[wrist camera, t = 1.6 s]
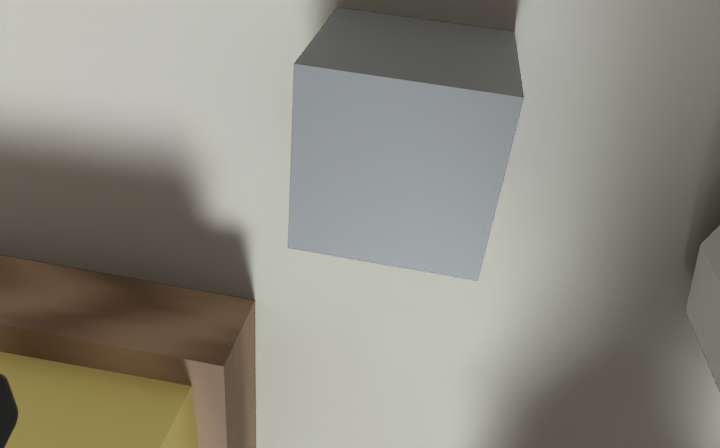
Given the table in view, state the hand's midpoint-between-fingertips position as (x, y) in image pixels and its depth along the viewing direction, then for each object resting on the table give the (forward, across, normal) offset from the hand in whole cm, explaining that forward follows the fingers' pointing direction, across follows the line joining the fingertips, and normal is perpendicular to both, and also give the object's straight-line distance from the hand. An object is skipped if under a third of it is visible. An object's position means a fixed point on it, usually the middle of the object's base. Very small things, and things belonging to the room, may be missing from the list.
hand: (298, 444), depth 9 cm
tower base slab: (+13, +11, +14) cm, 22 cm away
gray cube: (+12, 0, 0) cm, 12 cm away
